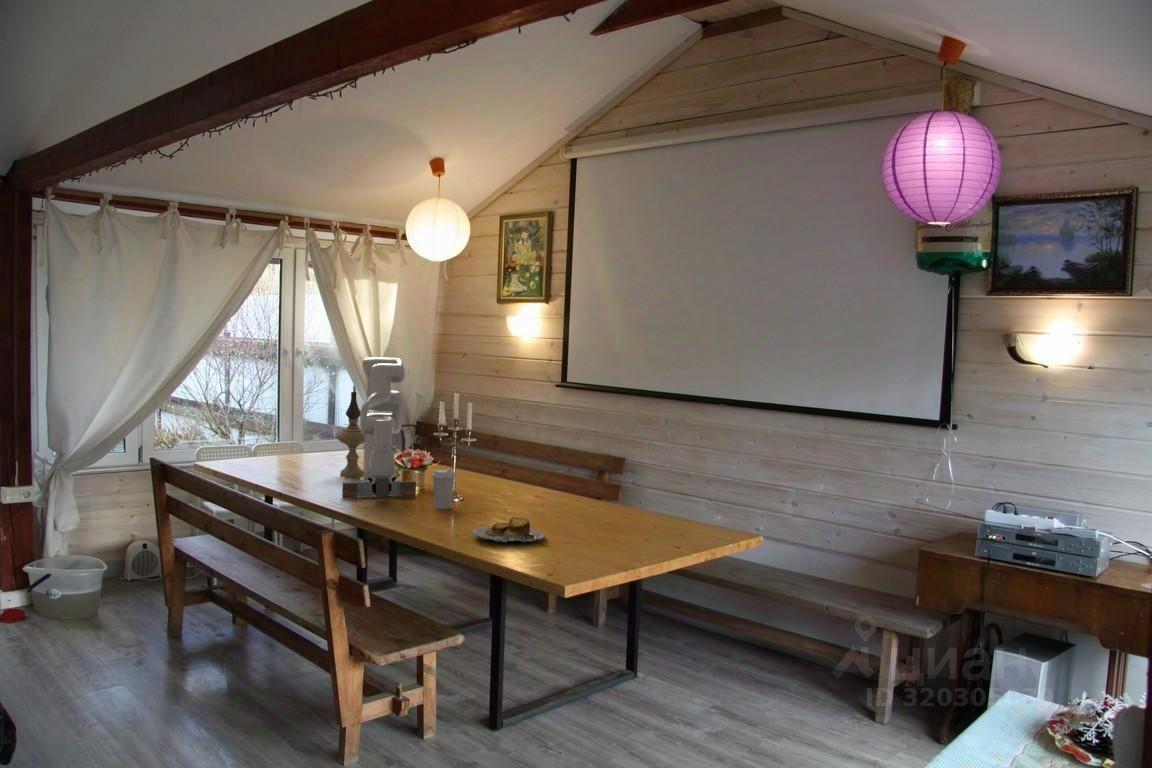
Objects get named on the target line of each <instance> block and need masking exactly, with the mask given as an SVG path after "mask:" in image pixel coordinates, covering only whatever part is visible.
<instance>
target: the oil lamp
mask: <svg viewBox="0 0 1152 768" xmlns="http://www.w3.org/2000/svg"><path fill="white" fill-rule="evenodd" d="M350 396H351V397H350V403H349V405H348V408H347V409H346V411H345V415H346V417H347V418H348V424H347V423H344V426H346V425H347V426H346V427H344V428H342V430H340V431H339V432H338V433H337V434H336V439H337V440H338V441H339V442H340V443H342V444H345V445H346V446H347V447H348V449H349V451H348V453H347V455H346V456H345V459H346V461H347V463H346V465H345V467H344V468H343V469H342V470H340V473H339V477H340V476H341V477H345V478H344V479H347V478H356V479H360V477H363V476H364V469H361V468H360V466H359V465H358V460H359V458H360V455H358V453H357V448H358V446H359V445H361V444H364V433H363V432H362V431H361V427H359V426H360V425H358V423H359V417H360V412H361V409H360V408H359V406H358V402H357V401H358V400H357V391H351V392H350ZM341 477H340V478H341Z"/></svg>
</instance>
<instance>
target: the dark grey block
mask: <svg viewBox="0 0 1152 768" xmlns="http://www.w3.org/2000/svg"><path fill="white" fill-rule="evenodd" d="M375 484H376V494H375V496H374V497H375V498H385V497H390V495H389V479H388V477H377V478H376V481H375Z"/></svg>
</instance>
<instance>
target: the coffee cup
mask: <svg viewBox="0 0 1152 768" xmlns="http://www.w3.org/2000/svg"><path fill="white" fill-rule="evenodd" d="M456 476H457V475H456V473H455V470H454V469H449V468H448V469H447V468H439V469H433V472H432V473H431V477H432V481H433V482H432V483H433V484H432V485H433V498H434V499H433V500H434V508H435V509H437V510H450V509H451V508H452V504H453V503H452V502H453V501H452V500H453V495H454V494H453V493H454V484H455V477H456Z"/></svg>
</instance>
